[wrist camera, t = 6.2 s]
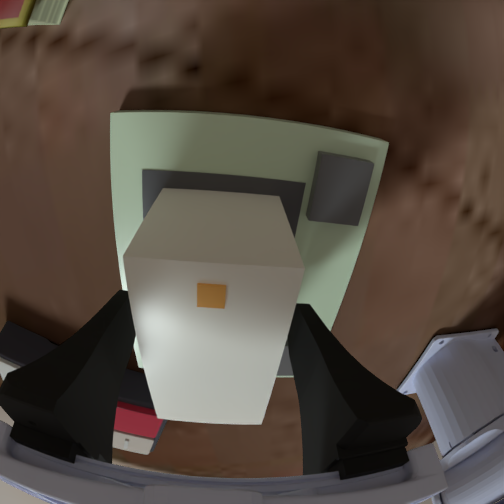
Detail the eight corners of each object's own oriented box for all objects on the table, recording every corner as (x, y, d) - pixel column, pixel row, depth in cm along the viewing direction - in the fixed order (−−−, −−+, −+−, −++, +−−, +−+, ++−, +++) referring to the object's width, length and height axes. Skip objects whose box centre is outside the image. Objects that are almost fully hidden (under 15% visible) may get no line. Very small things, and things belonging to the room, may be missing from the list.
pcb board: (379, 138, 13) (425, 161, 9) (308, 365, 21) (318, 412, 17) (118, 110, 11) (76, 124, 8) (141, 356, 20) (130, 404, 16)
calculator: (152, 459, 24) (14, 415, 19) (154, 424, 27) (25, 383, 23) (172, 419, 19) (-15, 356, 14) (175, 372, 22) (6, 317, 18)
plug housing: (279, 196, 13) (305, 270, 8) (254, 343, 18) (261, 426, 13) (163, 188, 12) (121, 258, 8) (171, 338, 17) (157, 420, 12)
